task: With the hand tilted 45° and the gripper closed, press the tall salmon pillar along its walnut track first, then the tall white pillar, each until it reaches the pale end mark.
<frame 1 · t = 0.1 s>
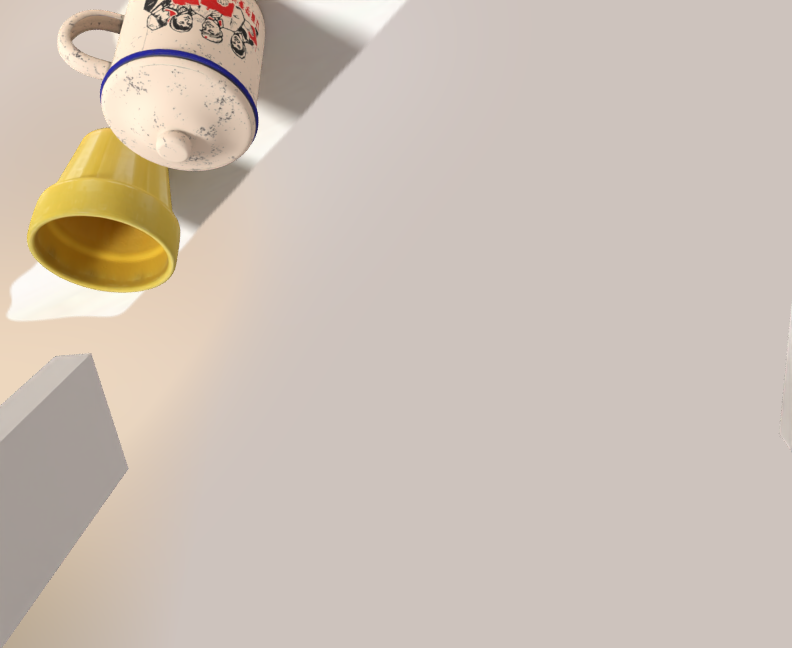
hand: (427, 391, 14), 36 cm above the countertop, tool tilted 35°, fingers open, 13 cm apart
teacup with lid: (177, 10, 48), on the countertop
plant pot: (126, 155, 60), on the countertop
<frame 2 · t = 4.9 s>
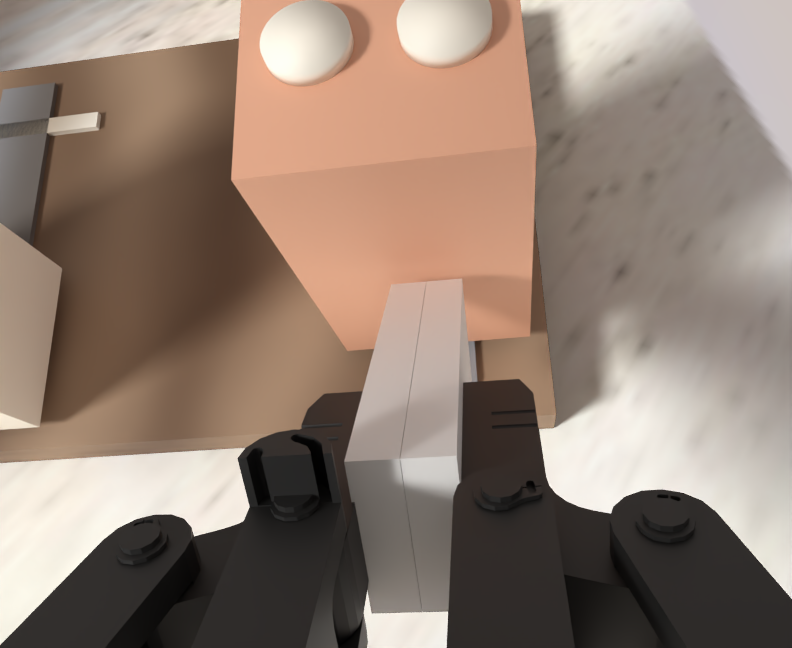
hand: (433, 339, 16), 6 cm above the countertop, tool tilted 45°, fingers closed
tall salmon pillar: (410, 173, 17), point 7 cm above the countertop, slide at 1.6 cm, touching gripper
walnut track board: (228, 241, 25), on the countertop
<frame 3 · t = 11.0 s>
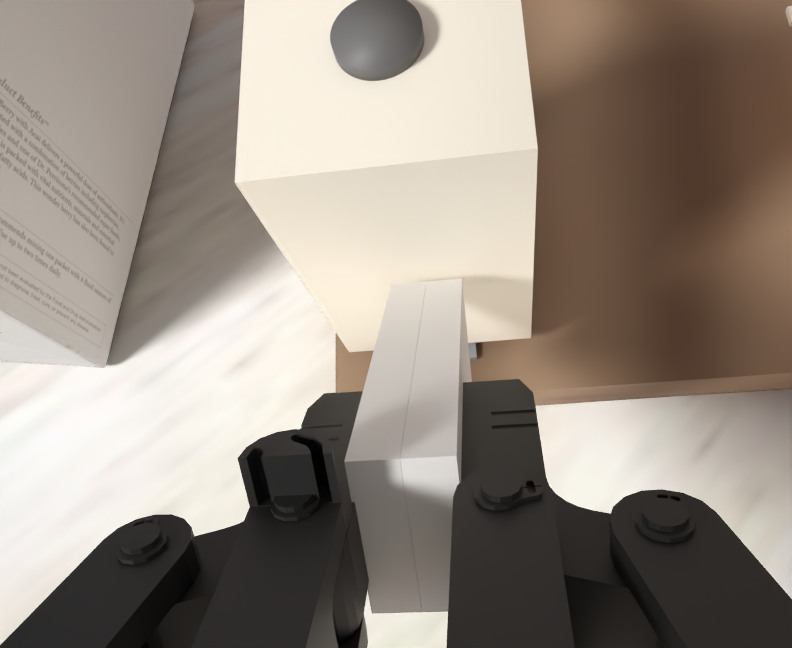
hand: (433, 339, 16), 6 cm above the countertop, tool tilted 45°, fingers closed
tall white pillar: (412, 176, 17), point 7 cm above the countertop, slide at 0.8 cm, touching gripper
walnut track board: (658, 179, 23), on the countertop
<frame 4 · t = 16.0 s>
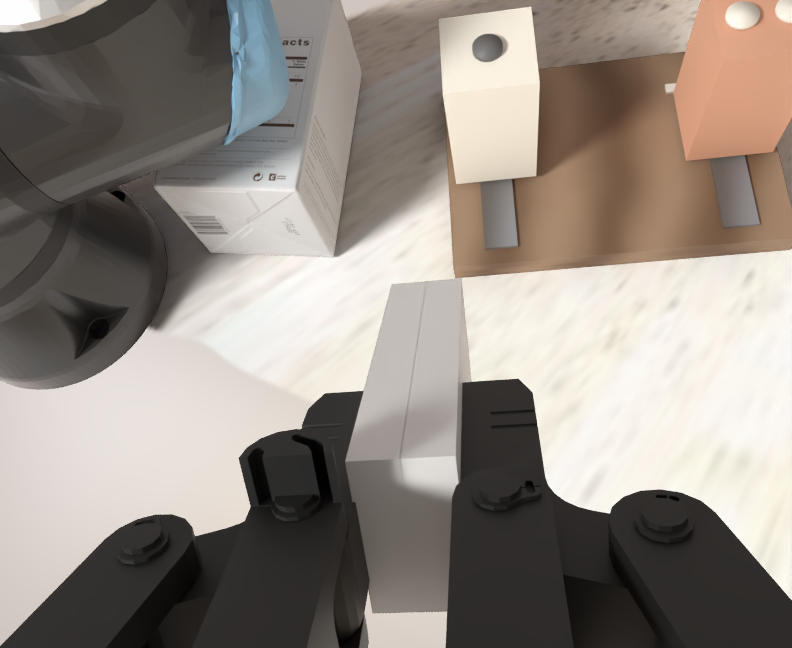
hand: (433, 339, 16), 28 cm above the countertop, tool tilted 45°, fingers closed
supplement box: (247, 229, 46), point 5 cm above the countertop
tall white pillar: (490, 101, 44), point 7 cm above the countertop, slide at 5.0 cm
tall salmon pillar: (742, 71, 42), point 7 cm above the countertop, slide at 5.0 cm
walnut track board: (603, 166, 49), on the countertop
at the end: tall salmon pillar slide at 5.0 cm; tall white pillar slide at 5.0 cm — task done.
